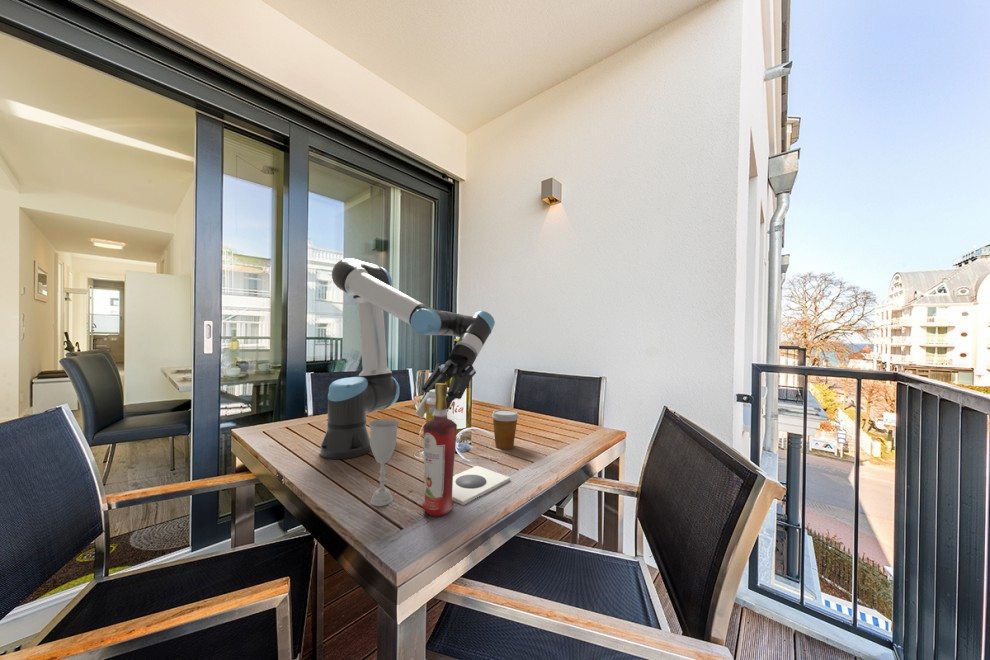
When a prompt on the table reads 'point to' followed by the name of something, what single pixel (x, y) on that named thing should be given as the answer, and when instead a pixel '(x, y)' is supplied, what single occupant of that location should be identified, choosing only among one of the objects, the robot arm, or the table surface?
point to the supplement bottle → (430, 405)
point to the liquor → (439, 457)
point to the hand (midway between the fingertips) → (426, 416)
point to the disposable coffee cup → (504, 428)
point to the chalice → (382, 454)
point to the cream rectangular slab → (475, 483)
